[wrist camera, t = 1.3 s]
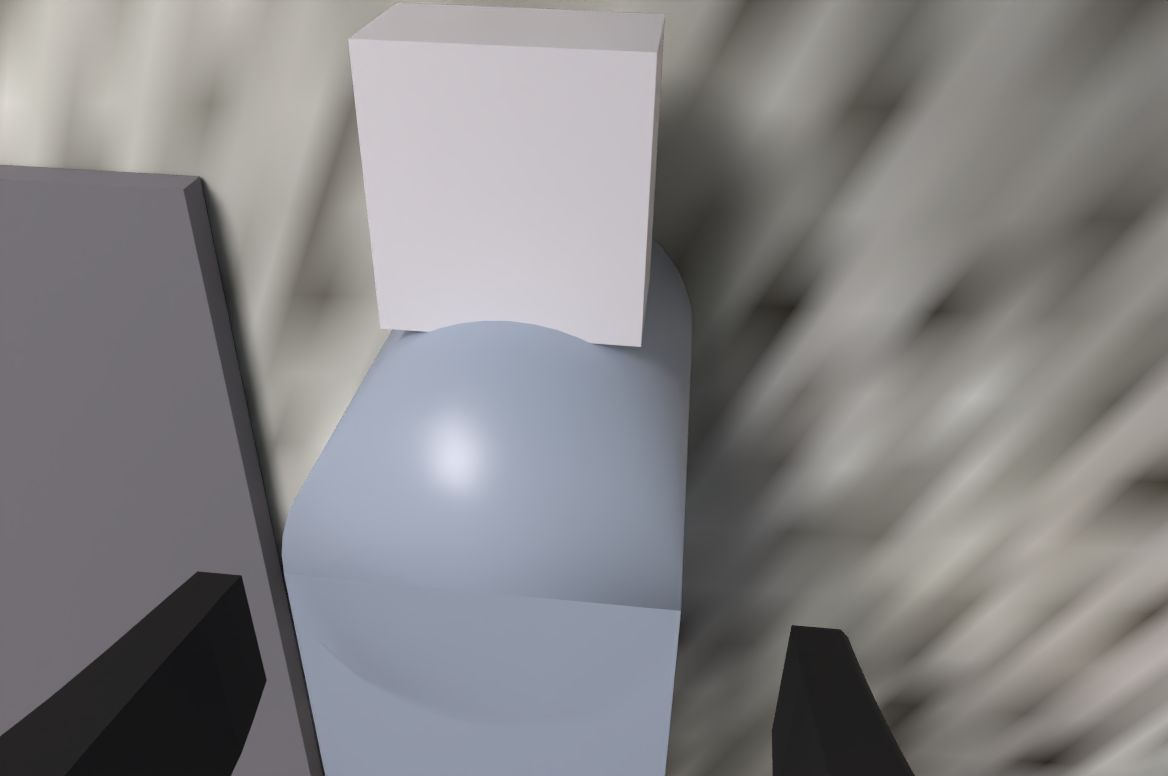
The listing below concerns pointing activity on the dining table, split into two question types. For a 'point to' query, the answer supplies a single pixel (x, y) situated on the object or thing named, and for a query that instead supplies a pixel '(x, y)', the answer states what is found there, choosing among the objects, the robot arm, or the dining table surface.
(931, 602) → the dining table surface
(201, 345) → the mat
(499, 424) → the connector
